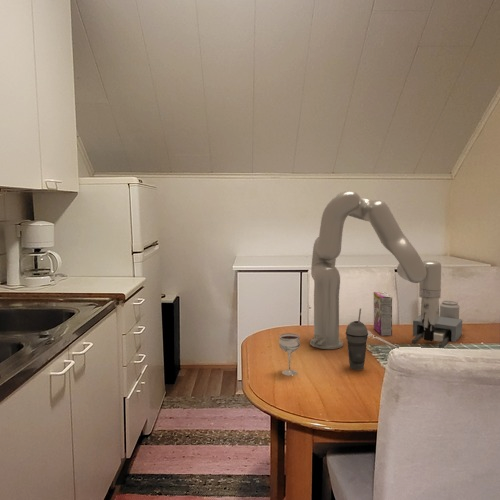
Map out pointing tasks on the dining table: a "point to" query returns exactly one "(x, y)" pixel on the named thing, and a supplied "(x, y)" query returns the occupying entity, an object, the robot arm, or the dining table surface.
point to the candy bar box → (383, 313)
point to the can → (449, 309)
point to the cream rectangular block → (440, 334)
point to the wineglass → (289, 348)
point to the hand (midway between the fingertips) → (428, 340)
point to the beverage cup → (356, 343)
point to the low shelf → (444, 323)
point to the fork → (381, 339)
